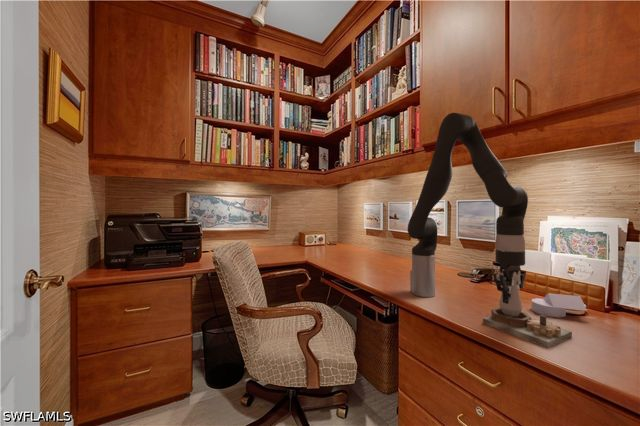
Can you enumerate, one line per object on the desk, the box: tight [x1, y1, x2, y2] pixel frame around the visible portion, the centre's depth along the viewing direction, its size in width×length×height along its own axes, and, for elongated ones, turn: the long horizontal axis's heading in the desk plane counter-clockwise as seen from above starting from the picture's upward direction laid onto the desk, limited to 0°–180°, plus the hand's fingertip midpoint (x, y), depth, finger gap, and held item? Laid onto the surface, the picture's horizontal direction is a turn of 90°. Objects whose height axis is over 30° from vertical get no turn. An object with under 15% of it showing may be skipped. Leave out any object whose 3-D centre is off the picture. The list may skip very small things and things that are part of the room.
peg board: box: [482, 307, 573, 349], centre depth 77 cm, size 17×13×6 cm
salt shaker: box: [498, 274, 523, 316], centre depth 81 cm, size 6×6×13 cm
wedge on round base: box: [531, 292, 588, 318], centre depth 90 cm, size 9×7×13 cm
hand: (510, 303), depth 81 cm, fingers closed on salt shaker, 3 cm apart
